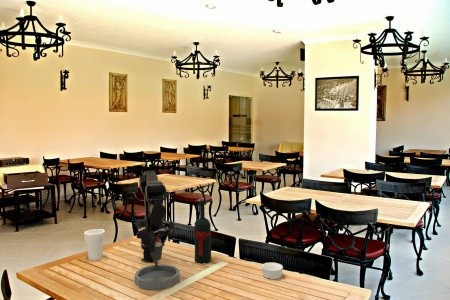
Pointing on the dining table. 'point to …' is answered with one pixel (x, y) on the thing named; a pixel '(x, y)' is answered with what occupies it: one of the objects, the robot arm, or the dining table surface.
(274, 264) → the ramekin
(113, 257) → the dining table surface
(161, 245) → the sundae
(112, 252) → the dining table surface
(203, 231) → the wine bottle
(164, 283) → the grey polygonal tray
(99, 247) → the foam cup
